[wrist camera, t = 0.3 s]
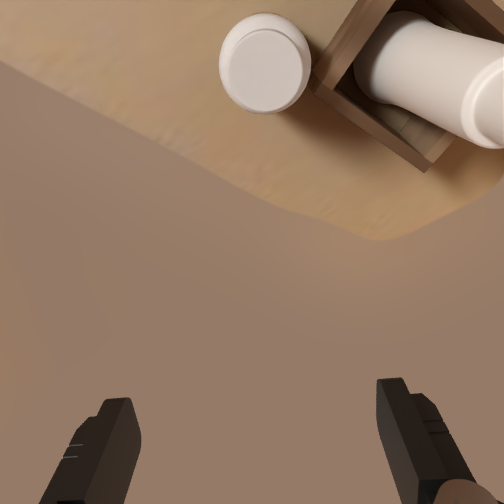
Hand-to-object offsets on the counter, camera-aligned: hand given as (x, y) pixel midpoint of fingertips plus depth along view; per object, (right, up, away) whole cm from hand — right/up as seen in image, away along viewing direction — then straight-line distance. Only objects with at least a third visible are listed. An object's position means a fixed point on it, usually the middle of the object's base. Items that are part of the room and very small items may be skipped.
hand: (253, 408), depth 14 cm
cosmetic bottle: (+10, +19, +16) cm, 27 cm away
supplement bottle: (+1, +19, +17) cm, 25 cm away
